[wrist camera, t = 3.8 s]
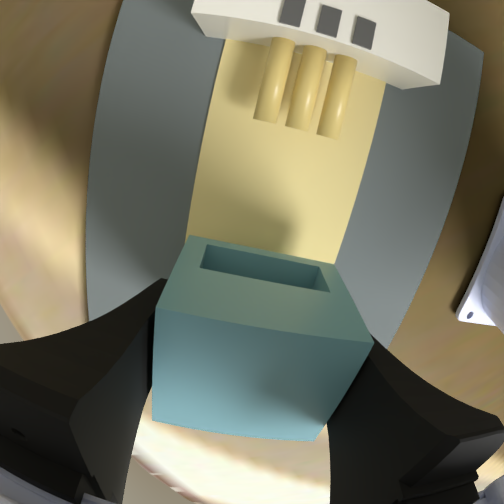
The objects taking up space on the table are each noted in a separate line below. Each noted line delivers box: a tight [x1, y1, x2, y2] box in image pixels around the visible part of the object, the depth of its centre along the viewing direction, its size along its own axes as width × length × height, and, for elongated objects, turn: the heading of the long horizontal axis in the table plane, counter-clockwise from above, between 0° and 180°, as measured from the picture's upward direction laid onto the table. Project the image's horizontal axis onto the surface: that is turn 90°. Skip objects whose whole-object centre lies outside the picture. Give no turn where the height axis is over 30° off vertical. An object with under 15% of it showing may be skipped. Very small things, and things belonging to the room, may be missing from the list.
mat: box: [86, 0, 484, 349], centre depth 13 cm, size 16×22×1 cm
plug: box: [152, 235, 374, 441], centre depth 10 cm, size 5×5×5 cm
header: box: [191, 0, 450, 141], centre depth 9 cm, size 8×6×3 cm
